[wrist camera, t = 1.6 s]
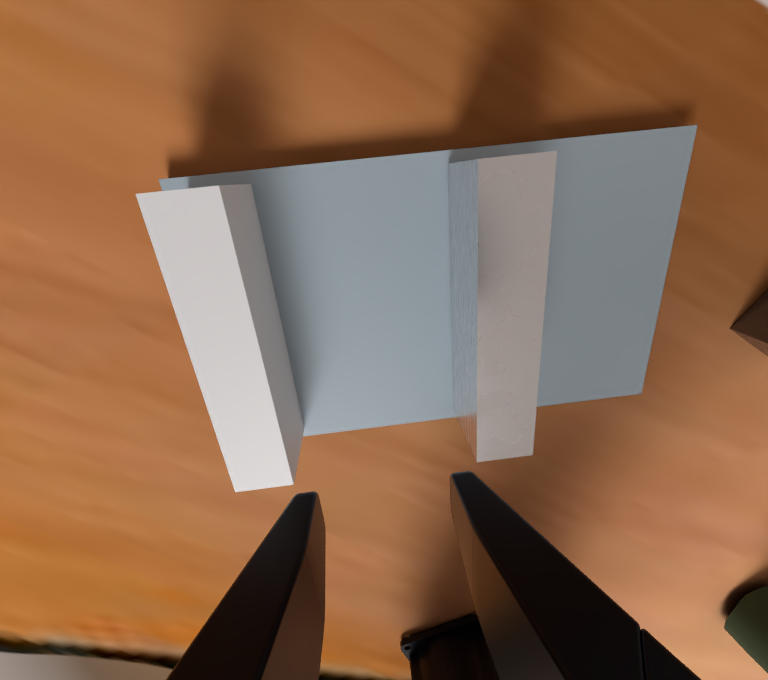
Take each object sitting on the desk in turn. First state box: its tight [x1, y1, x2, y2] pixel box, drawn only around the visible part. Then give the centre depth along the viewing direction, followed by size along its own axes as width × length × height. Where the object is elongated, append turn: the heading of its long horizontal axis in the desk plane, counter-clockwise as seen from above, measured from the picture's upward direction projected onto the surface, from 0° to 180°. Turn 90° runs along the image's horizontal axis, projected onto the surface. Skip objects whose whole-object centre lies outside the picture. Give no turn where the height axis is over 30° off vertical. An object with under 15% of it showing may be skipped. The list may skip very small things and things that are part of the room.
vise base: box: [136, 125, 697, 492], centre depth 16 cm, size 22×13×5 cm, turn 95°
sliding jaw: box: [448, 151, 557, 462], centre depth 16 cm, size 2×12×4 cm, turn 5°
